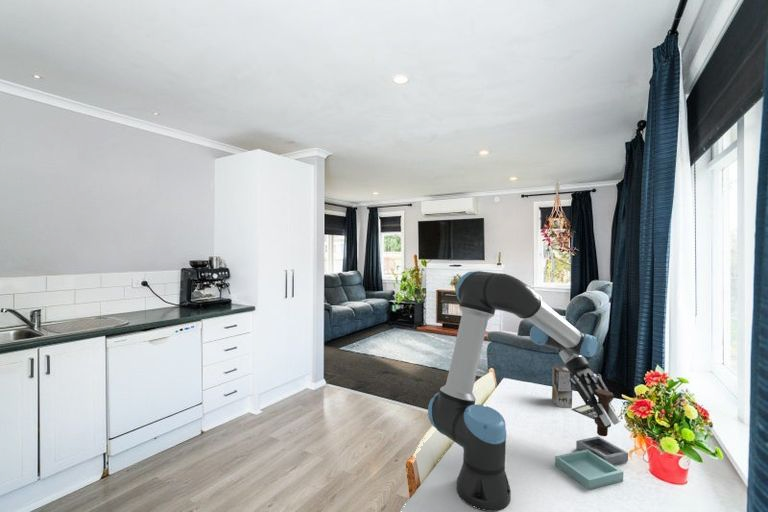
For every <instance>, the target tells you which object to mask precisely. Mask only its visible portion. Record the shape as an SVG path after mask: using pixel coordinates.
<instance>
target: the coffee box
mask: <svg viewBox="0 0 768 512" xmlns="http://www.w3.org/2000/svg"><path fill="white" fill-rule="evenodd" d="M572 377H573V374H571V373H570V372H569V370H568V369H567V367H566V366H561V365H556V366H555V365H552V379H551V380H552V381H551V391H552V392H551V395H552V396H551V400H552V401H553V402H554V404H555V405H556V406H557V407H559V408H569V409H573V386H574V385H573V384H572V383H571V382H570V381H569V379H571V378H572Z"/></svg>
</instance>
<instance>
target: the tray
mask: <svg viewBox="0 0 768 512" xmlns="http://www.w3.org/2000/svg"><path fill="white" fill-rule="evenodd" d="M554 465H555V466H556V467H558V468H559V469H560V470H561V471H563V472H564V473H565V474H566V475H568V476H569V477H571V478H572V479H573V480H575V481H577V482H578V483H579V484H581V485H582V486H584V487H585V488H586V489H587V490H590V491H591V490H593V489H597V488H601V487H604V486H607V485H608V486H609V485H612V484H615V483H619V482H622V481H624V471H623V470H622V469H621V468H618V467H616V465H612V464H610V463H609V462H607V461H605V460H604V459H602V458H601V457H599V456H597V455H596V454H594V453H592V452H591V451H589V450H582V451H578V450H577V451H573V452H568V453H564V454H560V455H556V456H554Z"/></svg>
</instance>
